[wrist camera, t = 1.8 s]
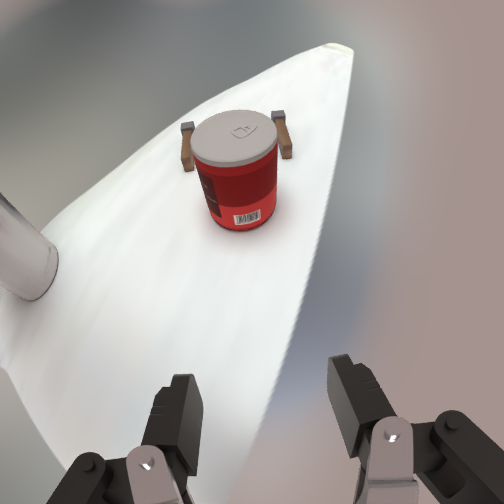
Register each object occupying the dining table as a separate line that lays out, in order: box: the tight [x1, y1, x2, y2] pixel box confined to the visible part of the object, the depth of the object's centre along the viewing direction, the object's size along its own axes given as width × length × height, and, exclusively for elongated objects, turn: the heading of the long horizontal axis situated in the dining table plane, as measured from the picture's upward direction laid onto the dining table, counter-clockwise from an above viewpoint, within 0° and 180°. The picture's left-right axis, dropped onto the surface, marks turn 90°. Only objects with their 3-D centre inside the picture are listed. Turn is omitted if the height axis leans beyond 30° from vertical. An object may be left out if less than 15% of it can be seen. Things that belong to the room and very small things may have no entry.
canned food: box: [190, 110, 278, 231], centre depth 28 cm, size 8×8×11 cm
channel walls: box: [181, 119, 292, 172], centre depth 37 cm, size 14×6×2 cm, turn 97°
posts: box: [181, 110, 286, 136], centre depth 38 cm, size 15×2×3 cm, turn 97°
